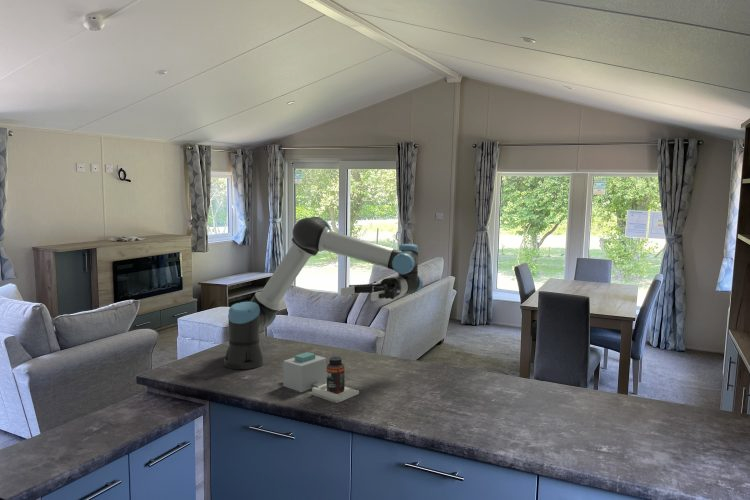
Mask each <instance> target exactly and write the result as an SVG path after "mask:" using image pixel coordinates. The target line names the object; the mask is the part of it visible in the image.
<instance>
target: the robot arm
mask: <svg viewBox="0 0 750 500" xmlns="http://www.w3.org/2000/svg"><path fill="white" fill-rule="evenodd" d="M291 244H292V245H291V247H290V248H289V250H288V251H287V253H286V254H285V255H284V257H283V258H282V260H281V261H280V263H279V265H277V267H276V269H275V270H274V272H273V273H272V275H270V276H271V277H270V278H269V279H268V280H267V282H266V284H265V285H264V287H263V288H262V290H261V291H256V292H255V293H254V295H253V297H252V298H251V300H250V301H240V302H236V303H234V304H232V305H231V306H230V307H229V309H228V314H227V318H228V346H227V349H226V353H225V355H224V359H223V362H224V366H225V367H226V368H228V369H231V370H250V369H255V368H260V367H261V366H263V365H264V364H265V356H264V353H263V350H262V346H261V343H260V338H261V337H260V331H261V330H263V329H264V328H268V327H269V326H270V325H271V324H272V323H273V322H274V321H275V320H276V316H277V313H278V311H279V310H280V308H281V305H280V302H281V300H282V299H283V298H284V296H285V295H286V294H287V291H288V290H289V289H290V287H291V286H292V285H293V283H294V281H296V278H297V277H298V275H299V274H300V272H301V271H302V269H303V268H304V267H305V265H306V264H307V262H308V261H309V259H310V258H311V257H315V256H317V255H318V253H319V252H323V251H327V252H330V253H333V254H337V255H341V256H344V257H348V258H351V259H354V260H357V261H361V262H365V263H368V264H372V265H375V266H379V267H382V268H385V269H388V270H391V271H395V272H396V273H397V274H398V276H392V277H386V278H384V279H382V280H381V281H380V283H367V284H349V285H348V286H347V287H341V288H340V296H341V297H345V296H350V295H351V296H354V295H355V294H365V293H366V294H370V301H371V302H375V301H379V300H384V299H387V300H388V299H391V300H394V299H396V298H397V299H398V298H399V297H401V296H405V295H412V294H415V293H417V292H420V290H422V287H423V282H424V281H423V280H422V277H421V275H419V273H418V272H419V271H418V270H419V269H418V268H419V246H418V245H417V244H413V243H403V244H402V243H401V244H400V245H399V246H398V249H395V248H391V247H388V246H384V245H381V244H377V243H374V242H371V241H368V240H364V239H360V238H358V237H353V236H350V235H346V234H343V233H339V232H336V231H332V229H331V225H330V224H329V222H328V221H327V220H326V219H324V218H322V217H320V216H311V217H304V218H301V219H299V220H298V221H297V222H296V223H295V224H294V226H293V228H292V238H291Z"/></svg>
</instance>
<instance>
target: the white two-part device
mask: <svg viewBox="0 0 750 500" xmlns="http://www.w3.org/2000/svg"><path fill="white" fill-rule="evenodd" d="M282 363H283V365H282V366H283V367H282V368H283V371H282V375H283V377H282V378H283V380H282V381H283V382H282V383H283V384H282V386H283V387H285V388H288V389H291V390H294V391H296V392H300V393H304V392H306V391H309V390H311V395H312V396H314V397H317V398H320V399H323V400H326V401H329V402H331V403H335V404H339V403H341V402H343V401H345V400H348V399H350V398H352V397H355V396H357V395H359V394H360V390H358V389H354V388H351V387H348V386H345V388H344V392H341V393H339V394H335V393H332V392H329V391H327V357H324V356H320V355H316V354H315V353H312V352H308V351H306V352H302V353H300V354H296V355H294V357H292V358H288V359H285V360H283V361H282Z"/></svg>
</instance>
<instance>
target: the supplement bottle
mask: <svg viewBox="0 0 750 500" xmlns="http://www.w3.org/2000/svg"><path fill="white" fill-rule="evenodd" d="M342 359H343V358H342V357H340V356H331V357H329V363H328V364H326V383H327V391H329V392H332V393H335V394H339V393H341V392H344V388H345V387H346V386H345V385H346V384H345V381H346V380H345V375H346V374H345V364H344V363H342V362H343V361H342Z"/></svg>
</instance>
